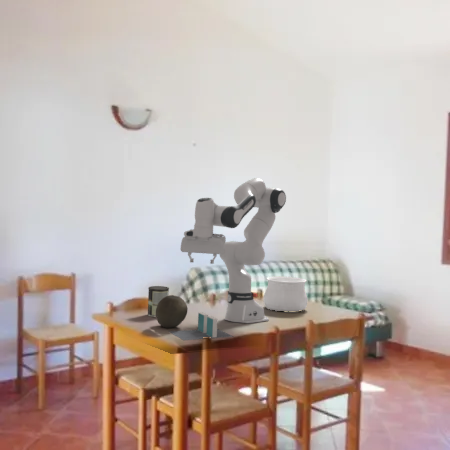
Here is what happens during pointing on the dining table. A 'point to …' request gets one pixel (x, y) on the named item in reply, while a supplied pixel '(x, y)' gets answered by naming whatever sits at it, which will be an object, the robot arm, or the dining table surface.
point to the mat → (197, 334)
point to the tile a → (202, 322)
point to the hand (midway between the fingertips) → (201, 263)
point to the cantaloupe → (171, 311)
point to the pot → (285, 294)
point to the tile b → (211, 326)
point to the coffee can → (156, 298)
